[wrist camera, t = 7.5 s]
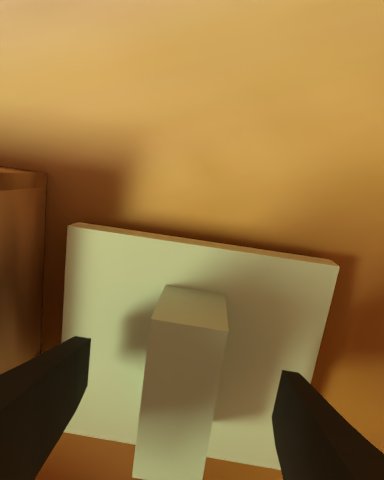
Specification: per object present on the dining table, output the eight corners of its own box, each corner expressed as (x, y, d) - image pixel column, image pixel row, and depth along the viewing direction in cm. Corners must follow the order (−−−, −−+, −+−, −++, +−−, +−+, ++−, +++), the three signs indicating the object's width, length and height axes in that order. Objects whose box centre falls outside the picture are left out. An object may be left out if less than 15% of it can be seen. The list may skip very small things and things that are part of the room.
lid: (280, 437, 16) (308, 550, 11) (73, 402, 16) (16, 497, 11) (323, 254, 14) (381, 297, 9) (85, 219, 14) (21, 242, 9)
